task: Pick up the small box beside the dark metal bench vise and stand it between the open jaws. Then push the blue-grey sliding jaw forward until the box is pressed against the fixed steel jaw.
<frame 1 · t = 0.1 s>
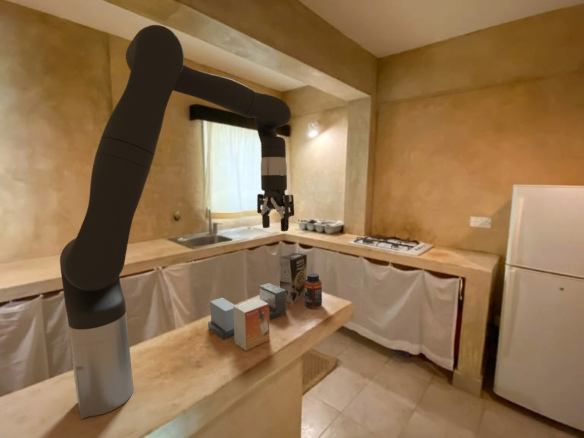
hand: (275, 229, 83), 29 cm above the counter, tool pointing down, fingers open, 8 cm apart
vise bed: (246, 321, 87), on the counter
sliding jaw: (224, 313, 82), point 5 cm above the counter, slide at 0.0 cm
supplement bottle: (313, 306, 98), on the counter
small box: (252, 342, 76), on the counter
coffee box: (293, 298, 105), on the counter
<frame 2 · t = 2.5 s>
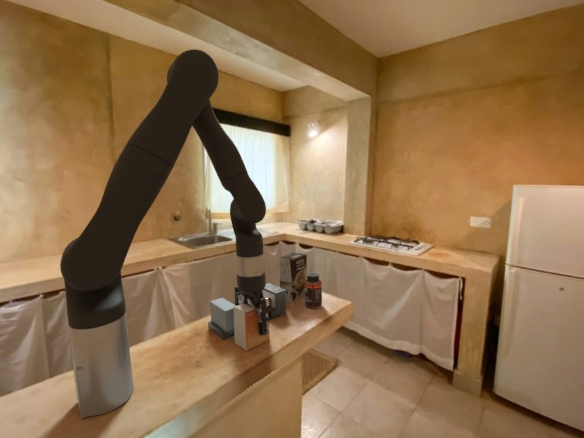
hand: (253, 328, 76), 4 cm above the counter, tool pointing down, fingers open, 8 cm apart
sliding jaw: (224, 313, 82), point 5 cm above the counter, slide at 0.0 cm, touching hand
everything else where it was.
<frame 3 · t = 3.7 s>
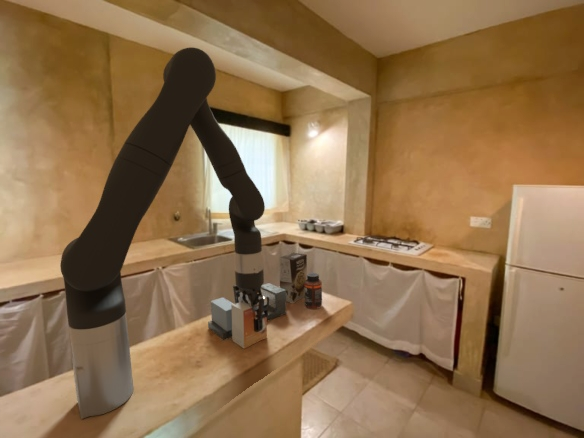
hand: (251, 326, 77), 4 cm above the counter, tool pointing down, fingers closed on small box, 5 cm apart
sliding jaw: (224, 313, 82), point 5 cm above the counter, slide at 0.2 cm
small box: (250, 339, 77), on the counter, touching gripper
everything else where it was.
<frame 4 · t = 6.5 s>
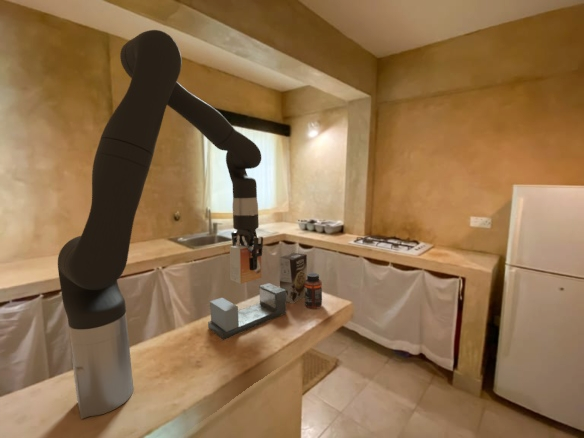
hand: (247, 267, 86), 17 cm above the counter, tool pointing down, fingers closed on small box, 5 cm apart
small box: (246, 279, 86), point 13 cm above the counter, touching gripper
everything else where it was.
when the fingers open (6 cm above the counter, at t = 9.0 s): small box stays where it is, resting on vise bed.
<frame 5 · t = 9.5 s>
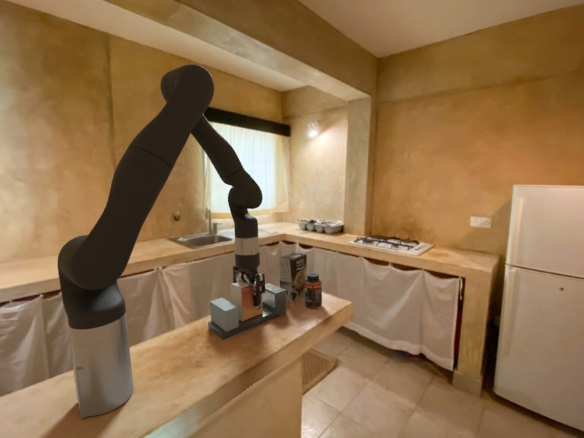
hand: (249, 301, 87), 6 cm above the counter, tool pointing down, fingers open, 8 cm apart
small box: (247, 315, 87), point 2 cm above the counter, touching vise bed
everything else where it was.
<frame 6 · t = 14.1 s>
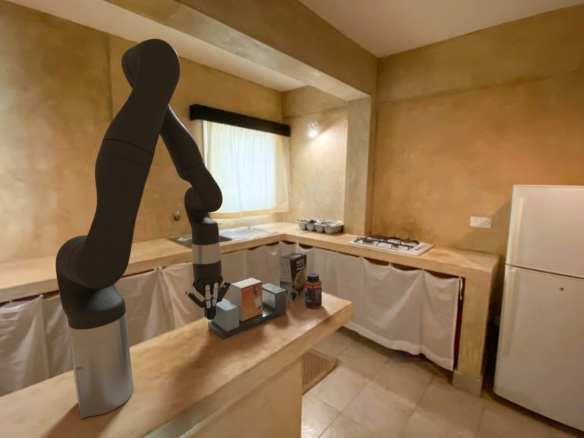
hand: (210, 318, 79), 5 cm above the counter, tool pointing down, fingers closed
sliding jaw: (224, 313, 82), point 5 cm above the counter, slide at 0.1 cm, touching gripper
everything else where it was.
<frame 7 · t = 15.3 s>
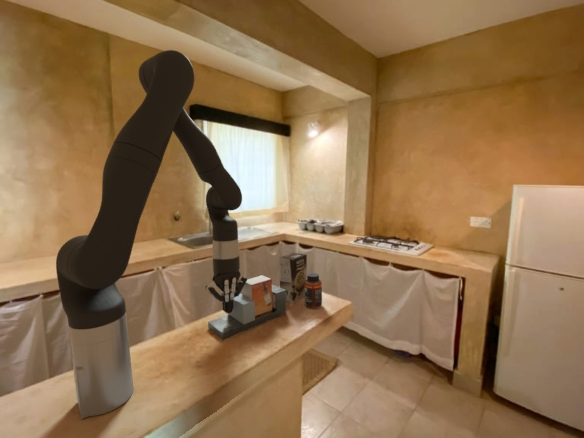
hand: (228, 312, 83), 5 cm above the counter, tool pointing down, fingers closed
sliding jaw: (240, 307, 86), point 5 cm above the counter, slide at 5.7 cm, touching gripper, small box
small box: (257, 311, 90), point 2 cm above the counter, touching sliding jaw, vise bed
everything else where it was.
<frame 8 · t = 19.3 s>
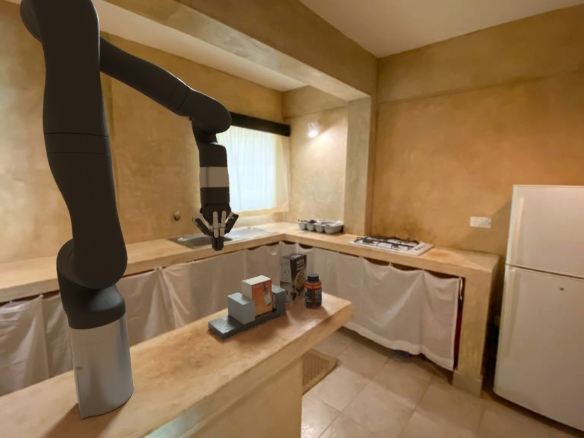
hand: (217, 250, 75), 25 cm above the counter, tool pointing down, fingers closed
sliding jaw: (240, 307, 86), point 5 cm above the counter, slide at 5.7 cm
small box: (257, 311, 90), point 2 cm above the counter, touching vise bed
everything else where it was.
at the end: small box 0.2 cm from the target spot on the vise bed, point 1.8 cm above the vise bed's base; small box tilted 0°; sliding jaw slide at 5.7 cm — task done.
